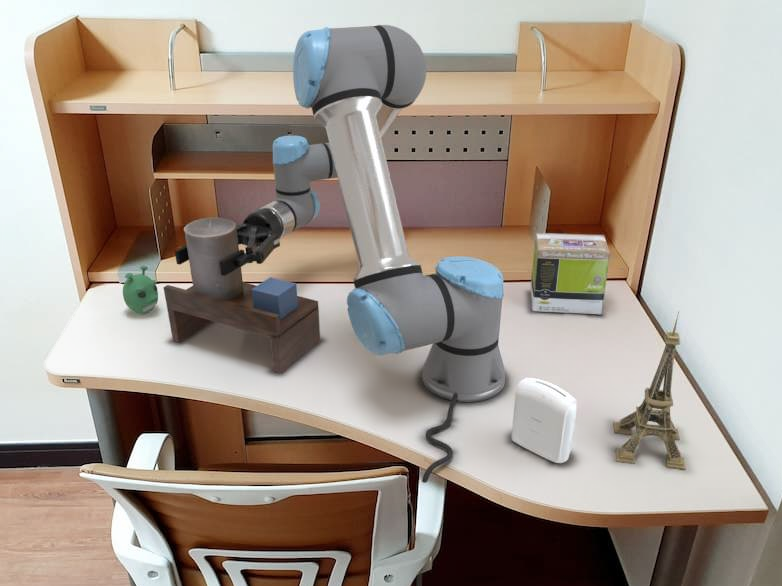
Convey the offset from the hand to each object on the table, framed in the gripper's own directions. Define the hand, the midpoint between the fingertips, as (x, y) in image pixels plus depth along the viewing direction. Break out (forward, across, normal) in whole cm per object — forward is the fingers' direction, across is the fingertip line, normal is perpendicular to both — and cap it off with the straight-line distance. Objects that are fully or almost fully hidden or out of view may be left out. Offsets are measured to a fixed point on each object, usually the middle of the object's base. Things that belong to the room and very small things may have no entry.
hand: (199, 263), depth 143 cm
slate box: (-3, -14, -8) cm, 17 cm away
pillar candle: (-4, 0, -8) cm, 9 cm away
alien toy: (-3, +20, -17) cm, 27 cm away
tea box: (-49, -58, -17) cm, 78 cm away
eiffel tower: (-6, -86, -17) cm, 87 cm away
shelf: (-3, -6, -17) cm, 18 cm away
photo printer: (+3, -70, -17) cm, 72 cm away
